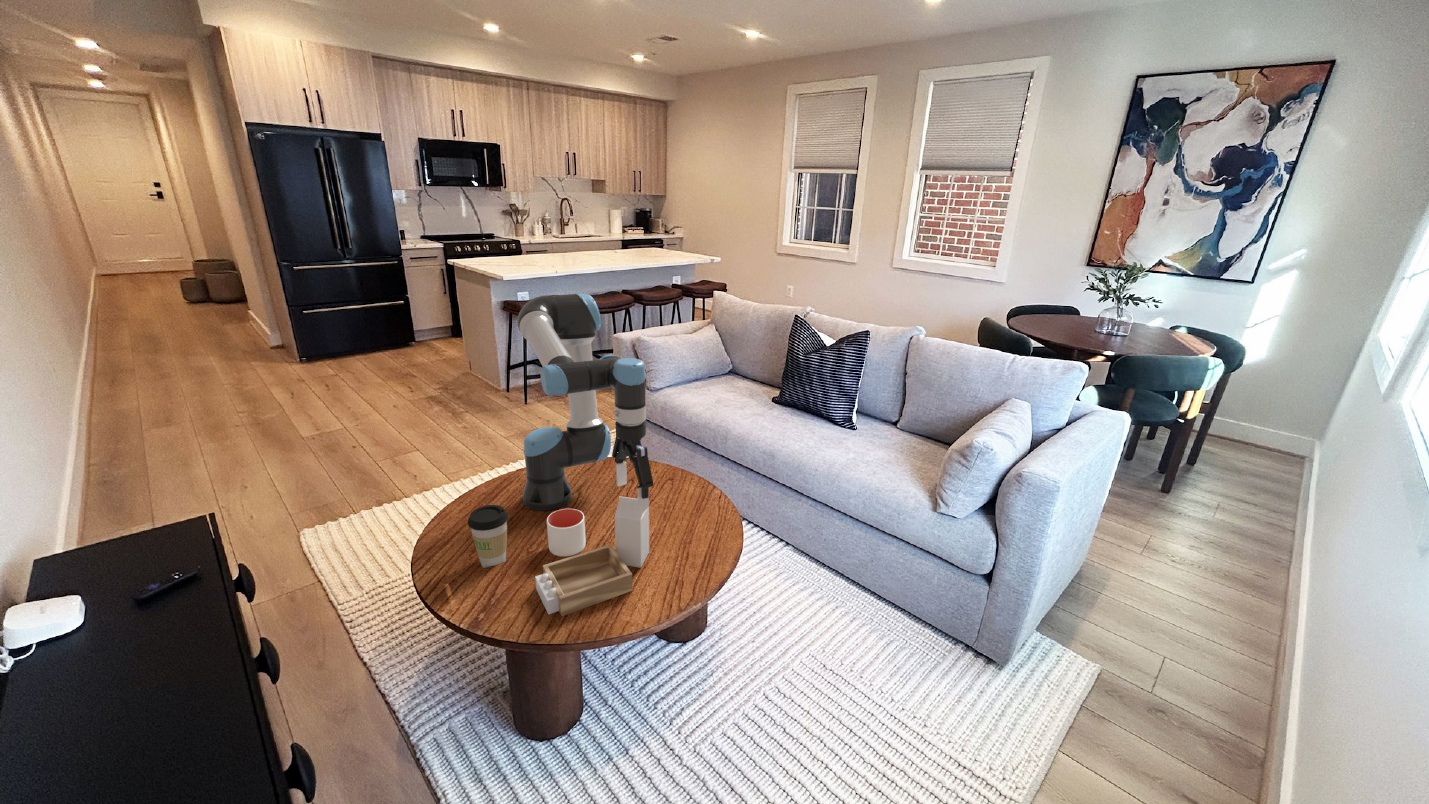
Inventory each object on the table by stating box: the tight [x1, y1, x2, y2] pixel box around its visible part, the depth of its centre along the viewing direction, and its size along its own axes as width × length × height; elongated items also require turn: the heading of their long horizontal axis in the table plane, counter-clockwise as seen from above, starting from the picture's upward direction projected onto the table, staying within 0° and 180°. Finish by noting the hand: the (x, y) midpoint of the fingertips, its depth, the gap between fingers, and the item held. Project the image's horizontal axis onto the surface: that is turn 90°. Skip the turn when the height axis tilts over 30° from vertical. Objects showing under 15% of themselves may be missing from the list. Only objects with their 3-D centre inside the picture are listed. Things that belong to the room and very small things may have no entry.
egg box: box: [534, 571, 564, 616], centre depth 133 cm, size 10×4×5 cm, turn 32°
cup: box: [546, 508, 587, 557], centre depth 153 cm, size 10×10×10 cm
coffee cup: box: [467, 504, 509, 569], centre depth 146 cm, size 10×10×15 cm
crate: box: [542, 544, 634, 617], centre depth 138 cm, size 14×18×6 cm
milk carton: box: [614, 496, 650, 569], centre depth 148 cm, size 7×7×19 cm
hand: (632, 496), depth 145 cm, fingers open, 13 cm apart
